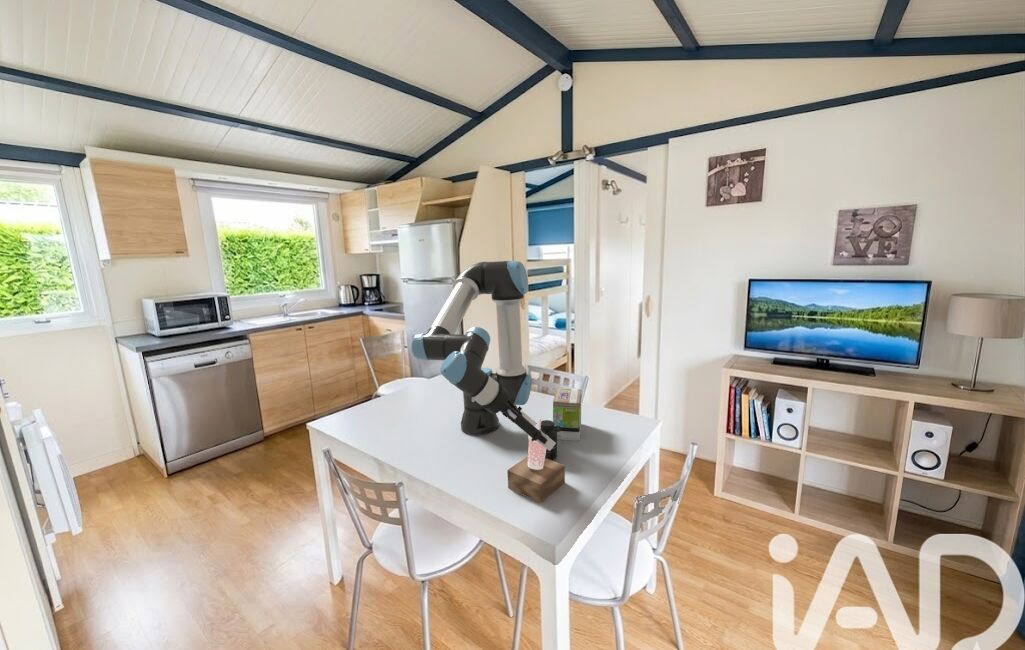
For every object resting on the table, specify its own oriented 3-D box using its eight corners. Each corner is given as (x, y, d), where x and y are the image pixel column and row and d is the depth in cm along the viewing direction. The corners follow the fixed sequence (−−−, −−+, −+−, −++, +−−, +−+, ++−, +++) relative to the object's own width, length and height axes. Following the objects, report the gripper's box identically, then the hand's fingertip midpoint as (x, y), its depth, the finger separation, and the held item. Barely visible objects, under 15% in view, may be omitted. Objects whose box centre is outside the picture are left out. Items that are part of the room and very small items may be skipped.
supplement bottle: (552, 463, 127) (551, 429, 125) (533, 458, 131) (532, 425, 129) (561, 454, 133) (560, 421, 131) (543, 449, 137) (542, 417, 134)
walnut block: (508, 488, 116) (507, 470, 115) (532, 470, 125) (532, 453, 123) (541, 504, 108) (540, 484, 107) (564, 483, 117) (564, 465, 116)
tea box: (580, 441, 141) (580, 402, 138) (552, 439, 143) (551, 401, 141) (581, 423, 156) (581, 388, 153) (556, 422, 158) (555, 387, 155)
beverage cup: (539, 472, 111) (545, 424, 110) (521, 466, 114) (526, 419, 113) (549, 466, 116) (554, 420, 115) (531, 460, 119) (536, 415, 119)
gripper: (471, 390, 118) (519, 428, 125) (494, 424, 95) (552, 467, 102) (487, 371, 119) (534, 410, 126) (514, 399, 95) (570, 445, 103)
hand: (542, 436), depth 114 cm, fingers open, 13 cm apart
